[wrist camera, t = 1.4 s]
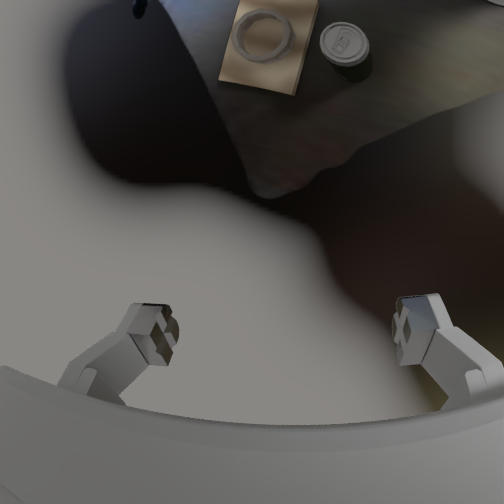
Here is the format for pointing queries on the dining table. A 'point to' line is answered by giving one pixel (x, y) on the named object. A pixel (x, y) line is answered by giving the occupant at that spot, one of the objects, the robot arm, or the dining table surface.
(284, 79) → the board
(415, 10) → the dining table surface
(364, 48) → the beer can
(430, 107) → the dining table surface
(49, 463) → the robot arm
